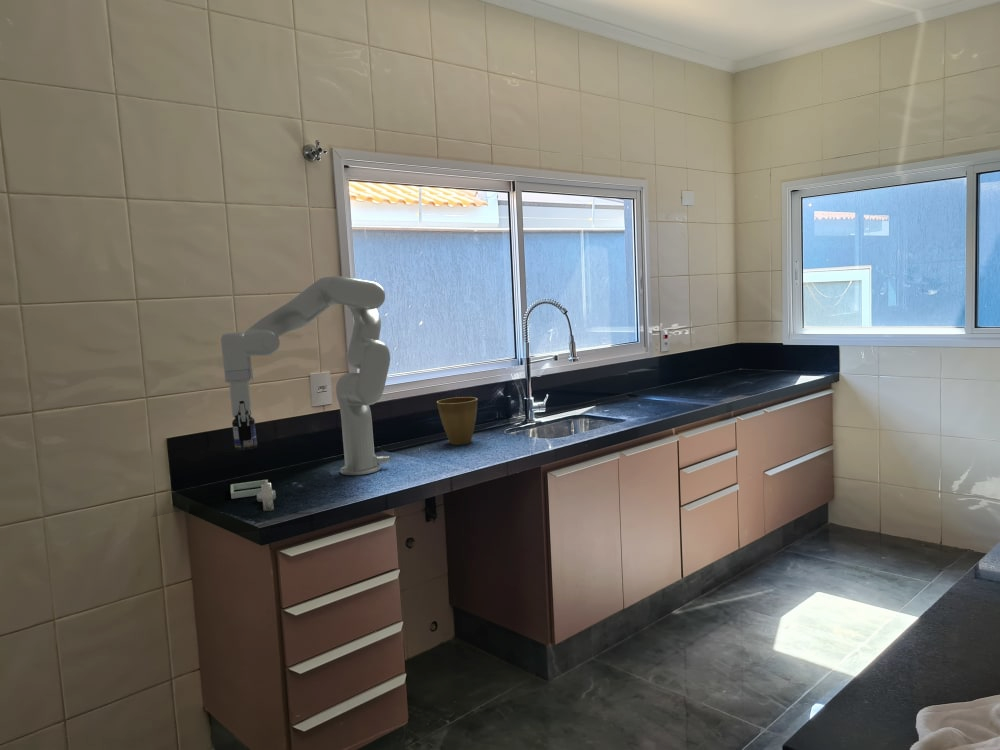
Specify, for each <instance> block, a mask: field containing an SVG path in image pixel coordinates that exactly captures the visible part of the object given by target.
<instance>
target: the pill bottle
mask: <svg viewBox="0 0 1000 750" xmlns="http://www.w3.org/2000/svg"><path fill="white" fill-rule="evenodd" d="M240 415H241V414H239V416H240ZM245 415H247V412H246V413H245ZM251 415H252V412H251V413H250V415H249V416H248V418H249V425H250V428H251V438H252V439H251V440H244V441H240V438H239V429H238V427H239V420H238V414H237V415H236V416H235V417H234V418H233V419H232V422H231V423H232V432H233V433H232V434H233V441H234V449H235V450H237V451H245V450H246V451H247V450H252V449H256V448H257V447H258V440H257V431H256V424H255V423H256V421H255V418H254V417H252V416H251Z"/></svg>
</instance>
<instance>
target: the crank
mask: <svg viewBox="0 0 1000 750" xmlns="http://www.w3.org/2000/svg"><path fill="white" fill-rule="evenodd" d="M260 488H261V490H262V491H259V492H257V493H256V494H257V495H256V500H257V502H259V503H261V502H262V508H263V511H264V512H269V511H273V510H274V509H275V508H274V500H276V499H277V496H276V495H277V494H276V490H275V489H273V487H272V482H270V481H268V482H266V483H262V484H261V487H260Z"/></svg>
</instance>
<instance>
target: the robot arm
mask: <svg viewBox="0 0 1000 750" xmlns="http://www.w3.org/2000/svg"><path fill="white" fill-rule="evenodd" d="M385 292H386V291H385V289H384V288H383V286H382V285H380V283H377V282H375V281H371V280H365V279H358V278H353V277H347V276H342V275H340V276H339V275H335V276H334V275H333V276H324V277H321V278H319V279H317V280H315V281H314V282H313V283H312V284H311V285H310V286H308V287H307V288H306V289H304V290H303V291H302V292H300V293H299V294H298V295H296V296H295V297H294V298H292V299H291V300H290V301H288V302H286V303H285V304H283V305H282V306H279V308H277V309H275V310H274V311H272V312H269V313H268V314H267V315H265V316H264V317H262V318H261V319H260V320H258V321H256V322H255V323H254V324H253V325H252V326H250V327H249V328H247V330H245V331H244V332H243V331H242V332H241V331H238V332H227V333H224V334H222V335H221V336H220V341H221V342H220V344H221V355H222V364H223V371H224V381H225V383H226V384H229V397H230V404H231V414H232V417H233V418H235V416H236V415H237V414H238V420H239V427H238V429H239V438H240V441H244V440H251V439H252V438H251V428H250V425H249V418H248V416H249V415H250V413H251V414H252V411H251V408H252V407H251V406H252V405H251V402H252V401H251V389H250V382H251V381H254V374H253V366H252V357H253V356H256V357H257V356H260V357H261V356H262V357H266V356H270V355H273V354H274V353H276V352H277V351H278V350H279V348H280V338H279V337H281V336H283V335H285V334H287V333H289V332H292V331H295V330H298V329H302V328H303V327H305V326H307V325H309V324H310V323H311V322H312V321H314V320H315V319H317V317H319V316H320V315H321V314H323V313H324V312H325V311H326V310H327V309H329V308H330V307H332V306H333V305H343V306H346V307H348V309H349V311H350V312H351V313H352V316H353V328H352V333H351V337H350V343H349V346H348V351H347V355H346V359H347V362H348V364H349V365H350V366H351V367H353V368H354V369H357V370H359V372H348V373H345V374H343V375H341V376H340V377H339V378H338V380H337V382H336V385H335V393H336V399H337V401H338V405H339V411H340V419H341V431H342V432H341V433H342V443H343V444H342V445H343V455H344V466H342V467H341V468H340V473H341V474H342V475H345V476H361V475H369V474H373V473H376V472H378V471H380V470H381V464H382V463H390V462H391V458H390V456H389V455H380V456H377V454H375V445H374V442H375V441H374V433H373V419H372V411H371V407H370V406H371V405H375V404H376V403H377V402H378V401H380V399H381V397H382V395H383V393H384V389H385V386H386V382H387V377H388V373H389V368H390V364H391V353H390V349H389V348H388V346H387V344H386V343H385V342H382V340H380V335H381V329H382V321H381V320H382V319H381V316H380V314H379V311H378V309H379V308H380V307H381V306H383V304H384V302H385V300H386V293H385ZM246 412H247V415H245V413H246ZM239 414H241V415H240V416H239ZM250 416H251V415H250Z"/></svg>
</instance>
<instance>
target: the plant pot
mask: <svg viewBox="0 0 1000 750" xmlns="http://www.w3.org/2000/svg"><path fill="white" fill-rule="evenodd" d="M436 404H437V405H436V407H437V409H438V415H439V418H440V421H441V424H442V427H443V429H444V432H445V434H446V437H447V440H448V441H449V443H450V445H452V446H453V445H454V446H462V445H467V444H471V442H472V439H473V434H474V431H475V426H476V420H477V413H478V398H477V397H473V396H466V397H465V396H462V397H460V396H459V397H451V398H450V397H449V398H445V399H440V400H437V401H436Z"/></svg>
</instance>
